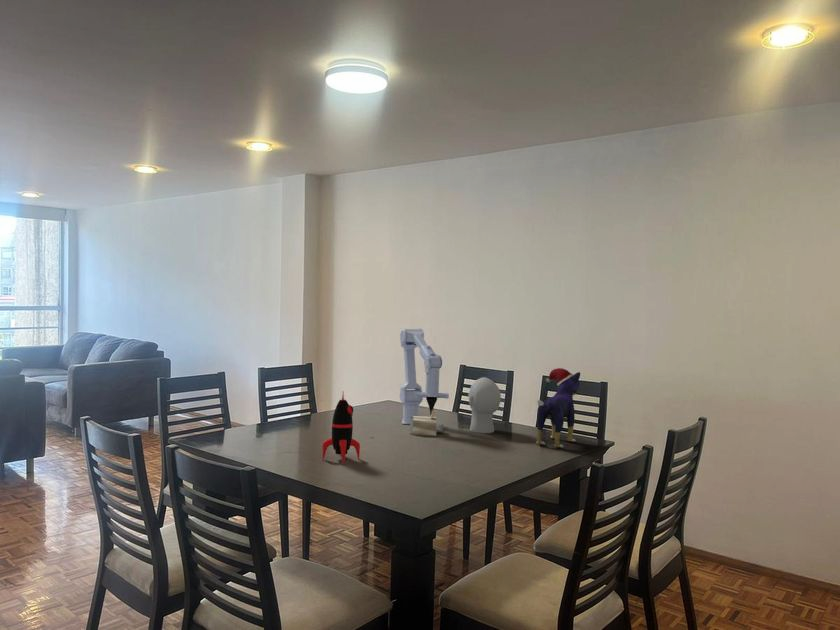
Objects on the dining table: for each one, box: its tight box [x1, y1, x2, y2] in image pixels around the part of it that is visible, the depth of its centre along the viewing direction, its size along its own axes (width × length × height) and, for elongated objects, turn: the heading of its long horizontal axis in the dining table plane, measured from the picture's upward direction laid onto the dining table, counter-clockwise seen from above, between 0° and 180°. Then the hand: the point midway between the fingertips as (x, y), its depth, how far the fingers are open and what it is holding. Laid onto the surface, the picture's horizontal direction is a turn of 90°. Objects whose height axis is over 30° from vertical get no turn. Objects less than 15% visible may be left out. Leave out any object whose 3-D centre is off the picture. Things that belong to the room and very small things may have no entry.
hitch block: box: [412, 415, 438, 436], centre depth 272 cm, size 10×10×6 cm
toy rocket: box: [322, 392, 361, 464], centre depth 223 cm, size 10×10×25 cm
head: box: [467, 376, 502, 434], centre depth 279 cm, size 14×18×25 cm
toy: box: [536, 367, 581, 449], centre depth 259 cm, size 16×40×30 cm, turn 146°
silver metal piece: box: [409, 417, 444, 435], centre depth 272 cm, size 7×14×6 cm, turn 91°
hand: (431, 414), depth 271 cm, fingers closed, pressing on keeper flap
